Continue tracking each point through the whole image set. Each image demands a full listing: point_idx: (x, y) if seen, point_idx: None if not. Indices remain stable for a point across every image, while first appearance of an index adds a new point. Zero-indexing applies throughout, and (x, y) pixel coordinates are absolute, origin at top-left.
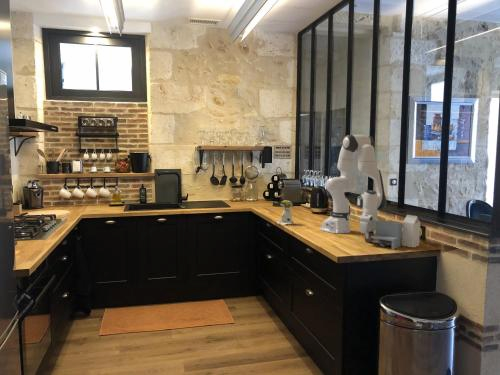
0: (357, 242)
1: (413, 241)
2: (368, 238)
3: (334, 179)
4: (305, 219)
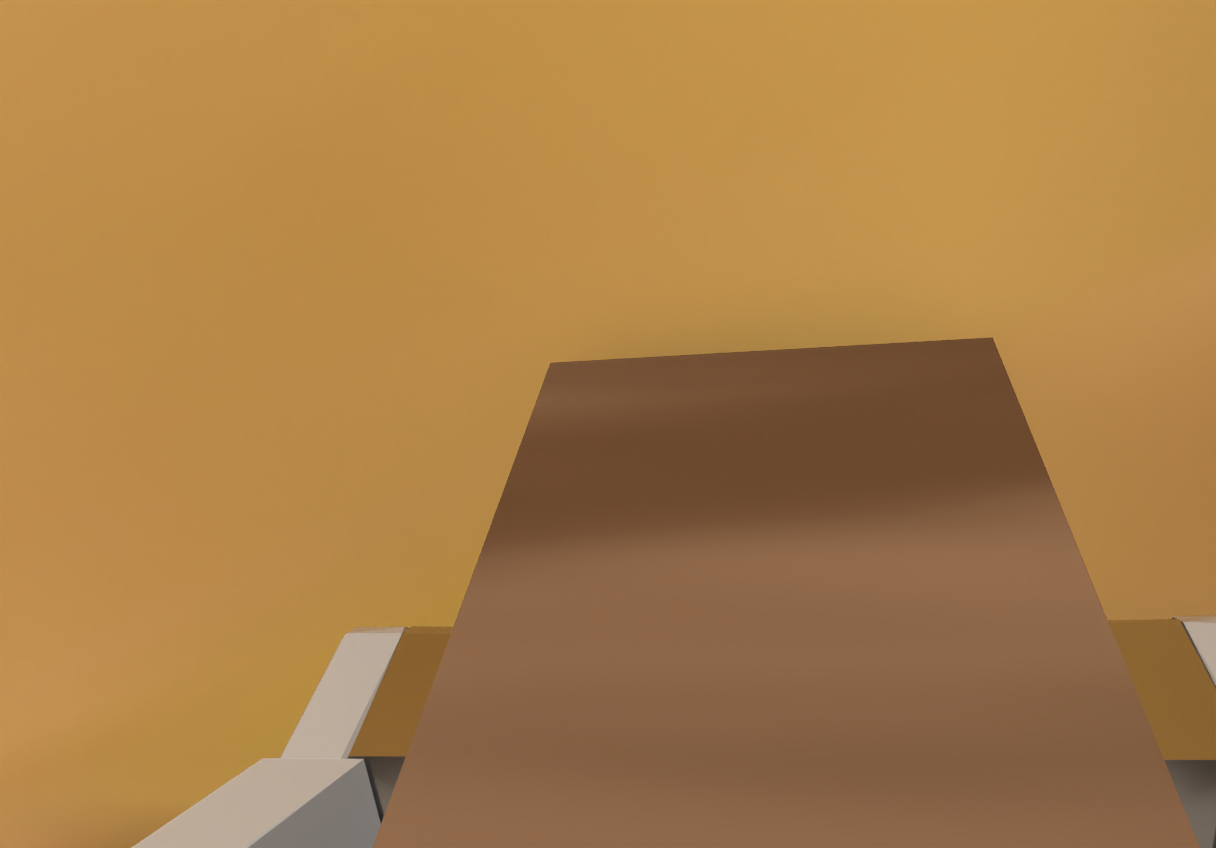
0: (107, 50)
1: None
2: None
3: None
4: None
